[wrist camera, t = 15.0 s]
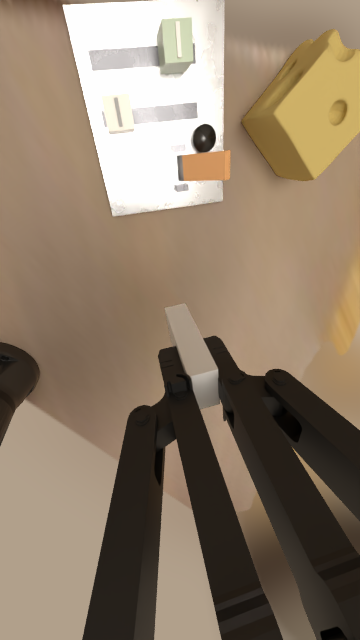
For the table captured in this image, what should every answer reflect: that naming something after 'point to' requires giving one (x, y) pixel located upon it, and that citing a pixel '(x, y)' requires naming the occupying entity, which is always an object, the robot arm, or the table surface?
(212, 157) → the lever orange
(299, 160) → the cheese
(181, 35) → the slider sage
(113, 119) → the slider ivory
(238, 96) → the table surface
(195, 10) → the panel
